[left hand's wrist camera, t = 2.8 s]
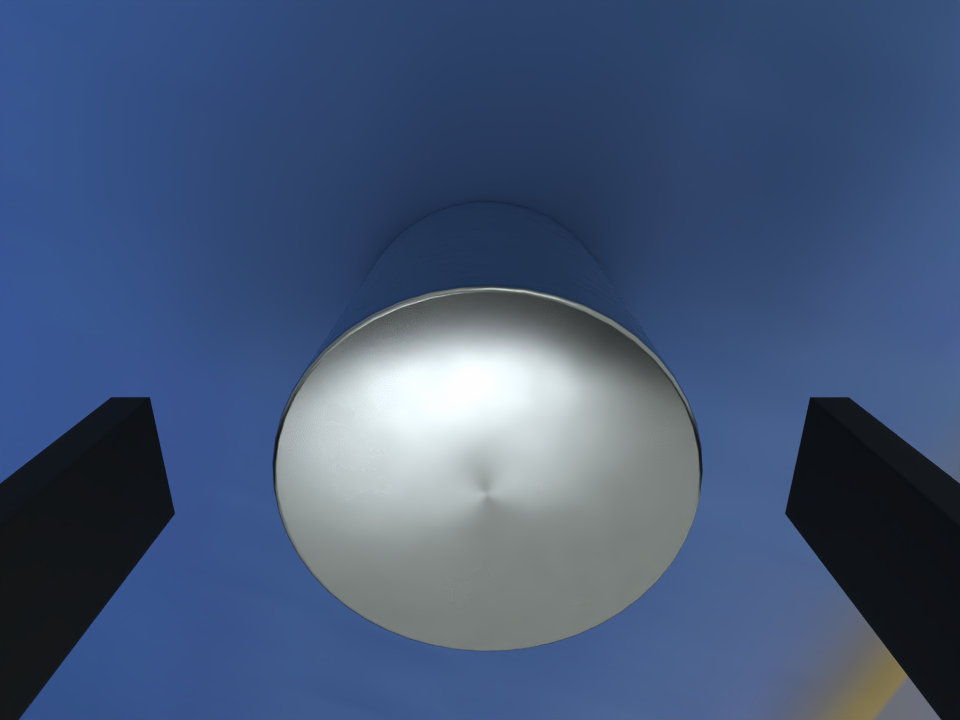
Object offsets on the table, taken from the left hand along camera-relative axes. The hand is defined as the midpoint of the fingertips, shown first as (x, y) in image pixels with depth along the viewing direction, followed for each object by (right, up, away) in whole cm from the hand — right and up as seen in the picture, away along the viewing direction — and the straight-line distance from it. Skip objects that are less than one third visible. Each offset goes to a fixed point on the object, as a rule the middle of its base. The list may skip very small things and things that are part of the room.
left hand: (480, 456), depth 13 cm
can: (0, +3, +6) cm, 7 cm away
